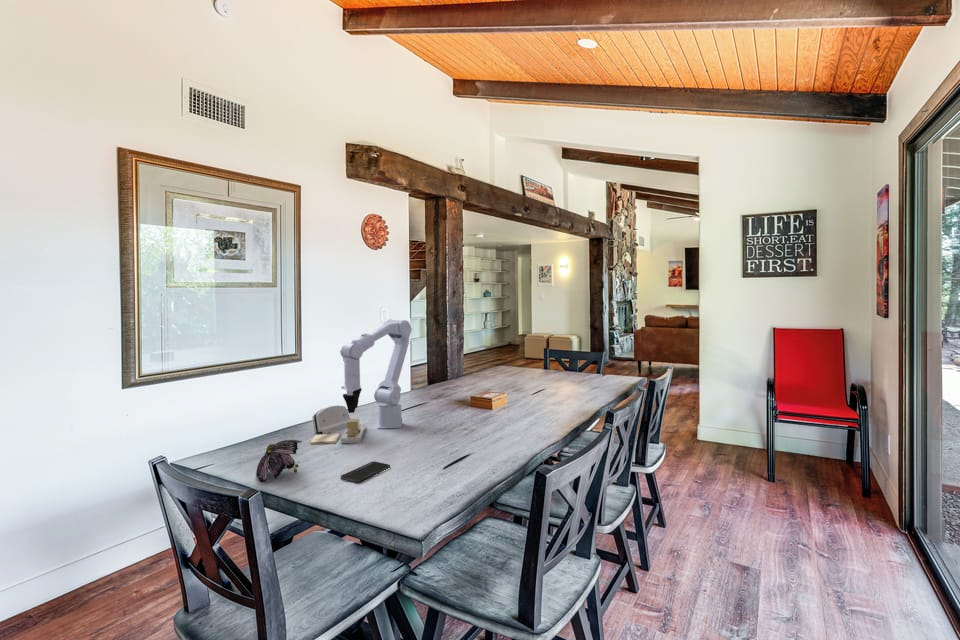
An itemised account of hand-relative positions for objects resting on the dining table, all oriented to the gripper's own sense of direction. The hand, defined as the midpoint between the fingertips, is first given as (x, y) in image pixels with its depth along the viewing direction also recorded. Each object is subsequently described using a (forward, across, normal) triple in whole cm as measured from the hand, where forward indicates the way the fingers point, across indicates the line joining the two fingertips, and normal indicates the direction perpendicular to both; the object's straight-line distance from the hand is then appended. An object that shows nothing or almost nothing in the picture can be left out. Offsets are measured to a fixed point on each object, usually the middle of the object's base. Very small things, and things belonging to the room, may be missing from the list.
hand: (353, 410), depth 189 cm
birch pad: (+10, +2, -10) cm, 15 cm away
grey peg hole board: (+10, -1, 0) cm, 10 cm away
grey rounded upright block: (+11, -13, -10) cm, 20 cm away
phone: (+11, +38, +9) cm, 41 cm away
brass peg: (+10, 0, 0) cm, 10 cm away
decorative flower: (+11, +36, -17) cm, 41 cm away
